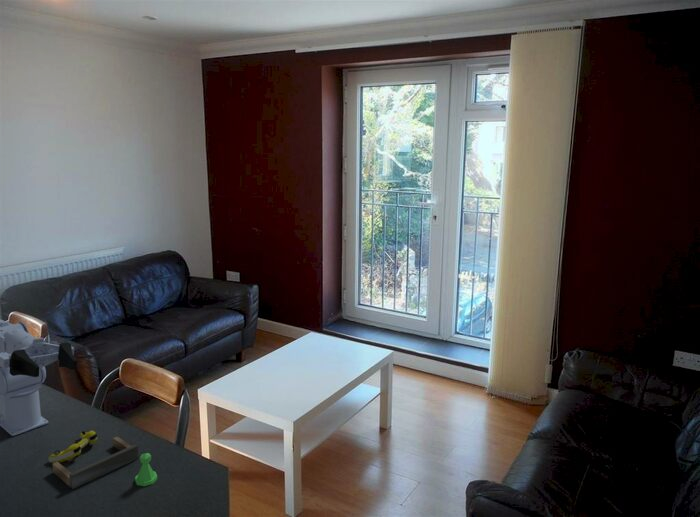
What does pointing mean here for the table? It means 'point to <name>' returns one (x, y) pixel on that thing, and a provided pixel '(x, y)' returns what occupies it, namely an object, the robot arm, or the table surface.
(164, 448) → the table surface
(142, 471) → the game piece
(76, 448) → the yellow plastic handheld tool
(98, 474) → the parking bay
